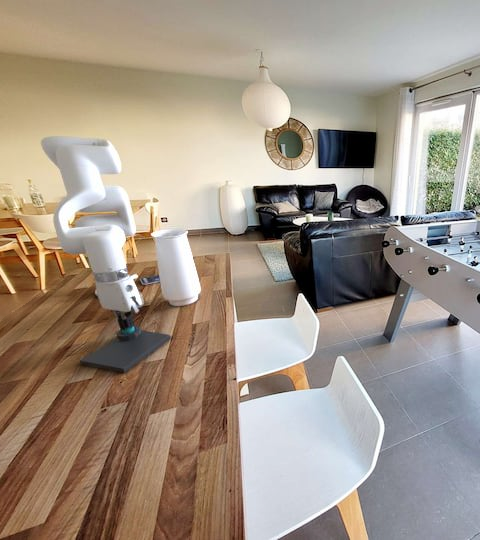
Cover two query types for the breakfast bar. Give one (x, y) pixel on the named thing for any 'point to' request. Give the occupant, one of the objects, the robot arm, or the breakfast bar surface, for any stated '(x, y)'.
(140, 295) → the bowl
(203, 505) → the breakfast bar surface
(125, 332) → the tare button
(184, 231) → the vase
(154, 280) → the smartphone
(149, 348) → the scale
